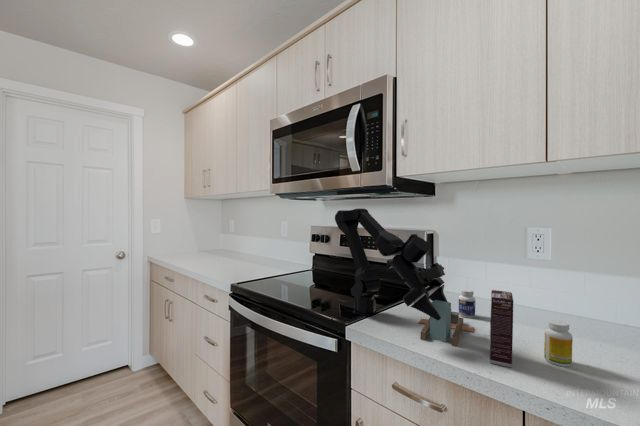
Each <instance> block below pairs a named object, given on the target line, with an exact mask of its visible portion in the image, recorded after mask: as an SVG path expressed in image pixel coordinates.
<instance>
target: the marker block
mask: <svg viewBox="0 0 640 426" xmlns="http://www.w3.org/2000/svg"><path fill="white" fill-rule="evenodd" d="M430 302H431V303H432V305H433V306H434V308H435V309H436V311H437V312H438V314H439V315H440V317H441V319H440V320H436V319H434V318H432V317H431V316H429V318H430V332H429V339H432V340H435V341H440V342H444V343H446V342H448V341H449V340H450V339H452V336H451V333H452V332H451V331H452V329H451V324H452V323H451V311H452V303H451V302H449V301H448V302H444V301H439V300H435V301H430Z"/></svg>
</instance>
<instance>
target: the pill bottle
mask: <svg viewBox="0 0 640 426" xmlns="http://www.w3.org/2000/svg"><path fill="white" fill-rule="evenodd" d="M457 312H458V313H459V317H461V318H465V319H466V318H467V319H472V318H473V319H474V318H475V317H476V297H474V290H473V289H470V288H469V289H468V288H462V289H460V295H459V296H458V311H457Z"/></svg>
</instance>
